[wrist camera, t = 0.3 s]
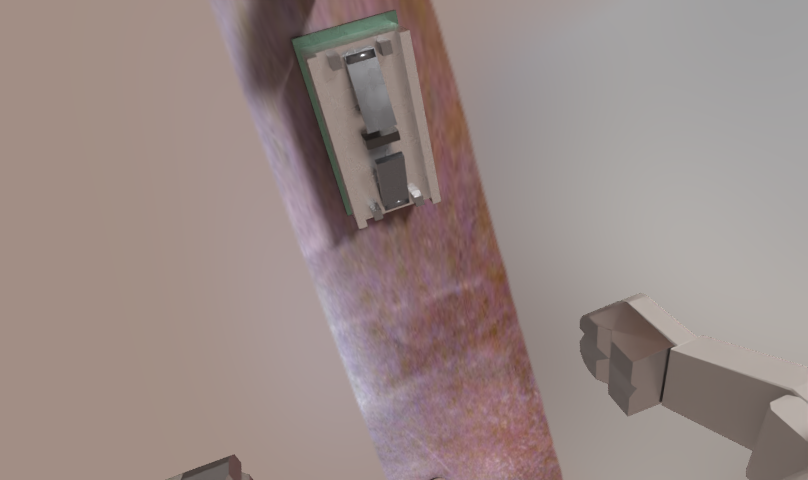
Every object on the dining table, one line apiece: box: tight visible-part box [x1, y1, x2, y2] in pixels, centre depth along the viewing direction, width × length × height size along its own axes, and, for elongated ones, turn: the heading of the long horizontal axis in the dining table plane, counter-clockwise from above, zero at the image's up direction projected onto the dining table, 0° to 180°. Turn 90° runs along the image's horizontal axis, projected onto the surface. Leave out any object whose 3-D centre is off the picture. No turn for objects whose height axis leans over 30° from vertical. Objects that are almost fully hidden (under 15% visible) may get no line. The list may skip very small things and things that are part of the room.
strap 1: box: [344, 47, 397, 134], centre depth 47 cm, size 8×3×1 cm, turn 12°
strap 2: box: [374, 151, 410, 211], centre depth 53 cm, size 8×3×1 cm, turn 11°
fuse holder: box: [291, 10, 441, 229], centre depth 53 cm, size 21×11×7 cm, turn 12°
